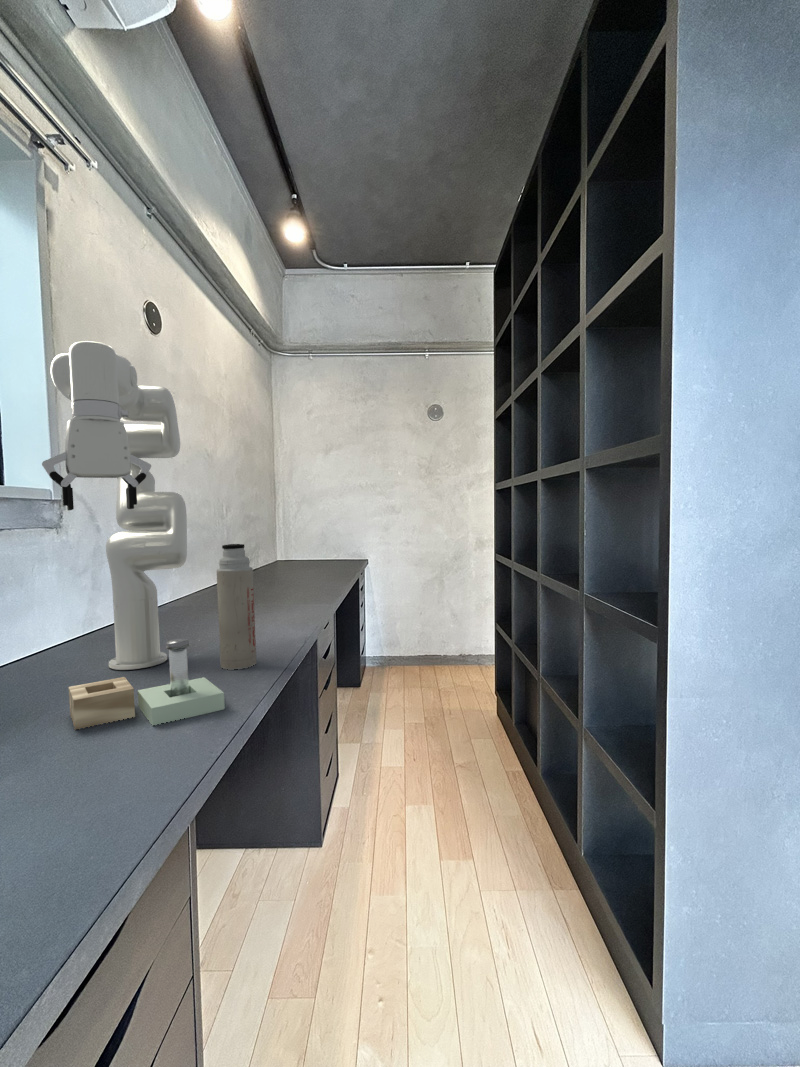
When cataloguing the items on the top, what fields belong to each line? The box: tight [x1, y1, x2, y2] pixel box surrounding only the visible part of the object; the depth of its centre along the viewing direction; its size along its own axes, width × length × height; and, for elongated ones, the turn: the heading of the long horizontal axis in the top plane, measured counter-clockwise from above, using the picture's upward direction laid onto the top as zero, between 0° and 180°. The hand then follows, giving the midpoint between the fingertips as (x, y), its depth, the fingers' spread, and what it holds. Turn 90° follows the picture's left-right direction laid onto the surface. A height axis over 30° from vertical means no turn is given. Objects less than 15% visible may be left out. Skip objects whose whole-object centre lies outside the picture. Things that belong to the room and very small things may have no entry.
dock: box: [137, 676, 226, 727], centre depth 99 cm, size 12×12×3 cm
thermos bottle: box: [216, 543, 257, 671], centre depth 126 cm, size 8×8×28 cm
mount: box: [68, 676, 136, 731], centre depth 96 cm, size 9×9×5 cm
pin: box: [165, 638, 190, 697], centre depth 99 cm, size 4×4×12 cm
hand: (101, 509), depth 100 cm, fingers open, 9 cm apart
